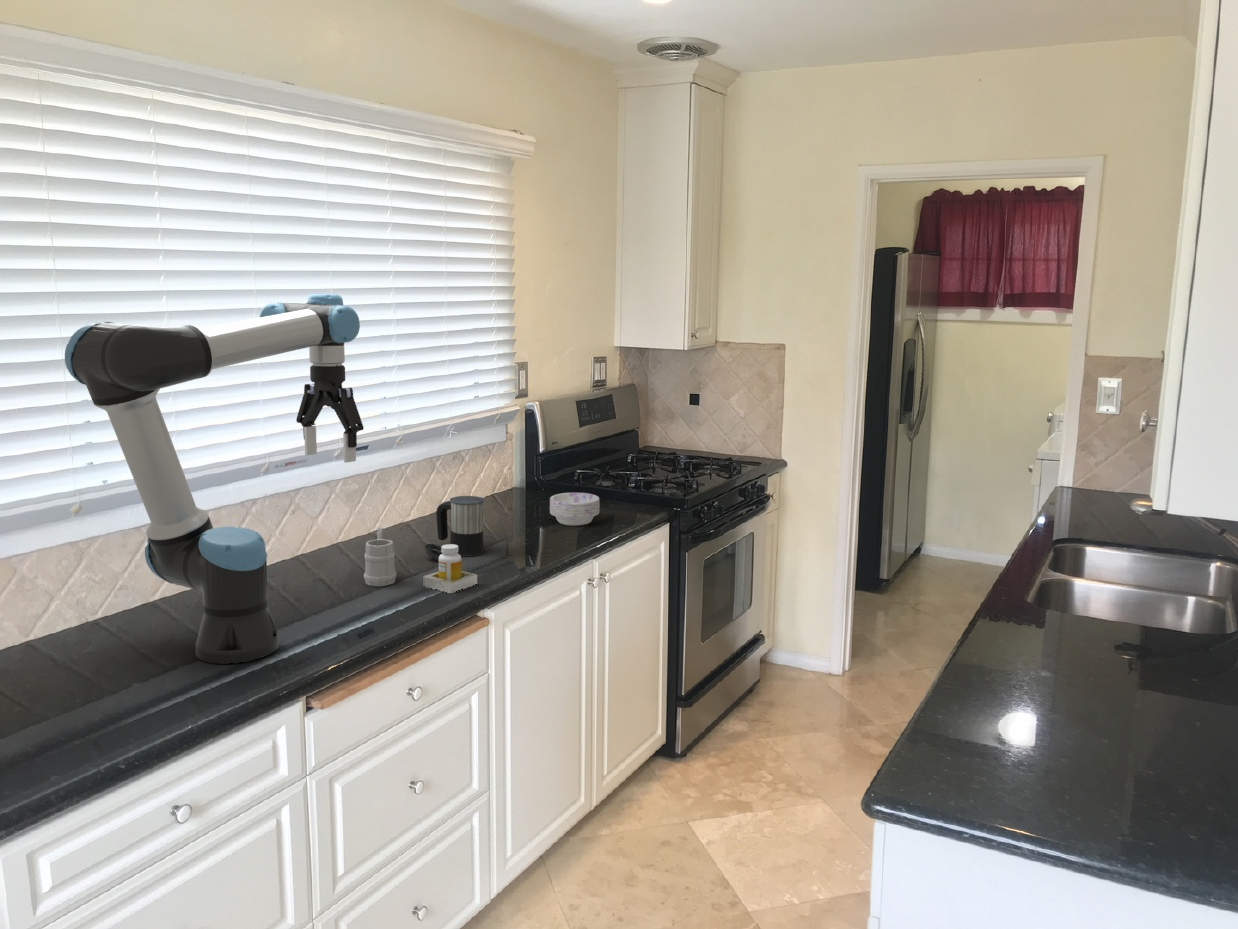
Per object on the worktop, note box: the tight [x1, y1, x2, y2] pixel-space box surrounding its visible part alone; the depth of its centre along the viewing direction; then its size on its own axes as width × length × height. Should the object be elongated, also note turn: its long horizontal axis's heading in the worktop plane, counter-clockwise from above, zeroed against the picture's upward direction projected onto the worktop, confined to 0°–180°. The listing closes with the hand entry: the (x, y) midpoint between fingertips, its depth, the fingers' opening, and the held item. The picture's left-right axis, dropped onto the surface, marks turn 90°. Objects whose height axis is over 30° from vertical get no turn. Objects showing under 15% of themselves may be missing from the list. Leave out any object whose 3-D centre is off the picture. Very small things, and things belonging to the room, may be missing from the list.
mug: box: [363, 526, 397, 587], centre depth 232 cm, size 8×12×12 cm, turn 13°
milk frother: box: [424, 495, 486, 562], centre depth 254 cm, size 14×16×15 cm
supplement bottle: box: [438, 543, 462, 581], centre depth 229 cm, size 5×5×10 cm
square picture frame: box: [422, 570, 478, 594], centre depth 230 cm, size 9×9×2 cm
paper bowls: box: [549, 492, 601, 527], centre depth 294 cm, size 15×15×8 cm
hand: (330, 458), depth 218 cm, fingers open, 13 cm apart
